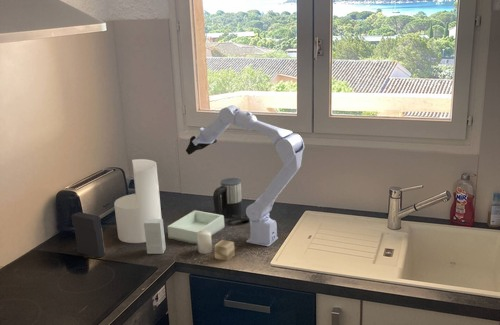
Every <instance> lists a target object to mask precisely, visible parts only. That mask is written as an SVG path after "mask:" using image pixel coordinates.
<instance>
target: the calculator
mask: <svg viewBox="0 0 500 325" xmlns="http://www.w3.org/2000/svg"><path fill="white" fill-rule="evenodd" d="M70 217H71V224H72V225H73V228H74V235H75V242H76V250H77V253H78V254H82V255H86V256H91V257H93V258H98V259H99V258H101V257H103V256H105V253H106V251H105V243H104V236H103V229H102V222H101V217H100V216H99V215H94V214H90V213H85V212H81V211H78V212H75V213H72V214H71V215H70Z"/></svg>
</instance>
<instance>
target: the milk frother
mask: <svg viewBox="0 0 500 325" xmlns="http://www.w3.org/2000/svg"><path fill="white" fill-rule="evenodd" d="M219 184H220V186H219V187H216V188H215V190H214V192H213V193H212V194H213V195H212V197H213V199H212V200H213V207H214V214H219V215H224V218H228V219H232V218H233V219H239V220H242V221H244V222H248V221H250V219H249V218H248V217H247V214H244V212H243V203H242V199H243V198H242V179H240V178H238V177H228V178H223V179H220V180H219ZM243 214H244V215H243Z"/></svg>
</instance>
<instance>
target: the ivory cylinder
mask: <svg viewBox="0 0 500 325" xmlns="http://www.w3.org/2000/svg"><path fill="white" fill-rule="evenodd" d="M197 239H198V245H197V247H198V248H197V249H198V250H197V251H198V253H199V254H202V255H204V254H205V255H206V254H207V255H208V254H210V253H212V252H213V242H212V236H211V231H209V230H201V231H199V232H197Z"/></svg>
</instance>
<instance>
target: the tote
mask: <svg viewBox="0 0 500 325" xmlns="http://www.w3.org/2000/svg"><path fill="white" fill-rule="evenodd" d="M223 229H225V217H224V215H221V214H216V213H213V212H205V211H202V210H201V211H200V210H197V209H194V210H192V211H191V212H189V213H188V214H186V215H184V216H183V217H181V218H179V219H177V220H176V221H174V222H172V223H171V224H169V225H167V234H168V235H167V236H168V239H170V240H174V241H180V242H184V243H188V244H193V245H197V246H198V239H197V232H199V231H201V230H209V231H211V237H212V236H214V235H216V234H217V233H218V232H220V231H221V230H223Z"/></svg>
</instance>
